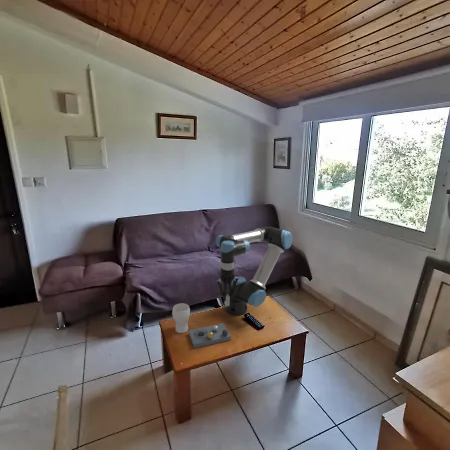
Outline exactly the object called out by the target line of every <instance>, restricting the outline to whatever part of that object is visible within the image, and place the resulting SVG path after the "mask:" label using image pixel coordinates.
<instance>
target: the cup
mask: <svg viewBox="0 0 450 450" xmlns="http://www.w3.org/2000/svg"><path fill="white" fill-rule="evenodd" d="M171 315H172V318H173V320H174V321H175V332H176V333H178V334H185V333H186V332H188V331H189V325H188V321H189V319H190V317H191V316H190V315H191V309H190V305H188V304H187V303H181V302H180V303H177V304H174V306H173V307H172V313H171Z"/></svg>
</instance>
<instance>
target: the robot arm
mask: <svg viewBox="0 0 450 450" xmlns="http://www.w3.org/2000/svg"><path fill="white" fill-rule="evenodd" d="M292 235H293V234H292V233H291V232H290V231H287V230H286V229H282V228H278V227H277V228H276V227H274V226H264V227H258V228H255V229H254V230H250V231H246V232H241V233H235V234H230V235H224V234H219V235H217V236H216V239H215V245H216V246H217V247H219V248H220V277H219V278H218V279H216V280H215V282H216V284H217V285H218V290H219V295H220V296H221V297H222V300H223V301H224V306H225V311H226V313H228V314H230V315H232V316H242V315H245V314H246V313H247V312H248V308H249V307H248V305H249V306H252V307H254V308H257V307H260V306H261V305H262V304H263V303H264V302H265V300H266V297H267V292H266V284H267V283H268V282H267V281H268V280H269V278H270V276H271V274H272V272H273V270H274V267H275V266H276V263H277V261H278V259H279V258H280V256H281V254H282V253H284V252H285V250H289V249H290V248H291V246H292V243H293V236H292ZM255 242H258V243H267V246H268V248H267V250H266V252H265V255H264V257H263V258H262V259H261V262H260V265H259V267H258V268H257V270H256V272H255V274H254V276H253V278H252V279H249V281H248V282H247V278H246V277H244V276H236V275H235V257H237V256H241V255H244V254H246V253H247V252H249V251H250V249H251V243H255ZM221 283H223V284H221Z"/></svg>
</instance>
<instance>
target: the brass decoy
mask: <svg viewBox="0 0 450 450" xmlns="http://www.w3.org/2000/svg"><path fill="white" fill-rule="evenodd" d="M213 336H214V334H213V332H211V331H209V332H208V333H207V338H208V339H212V338H213Z"/></svg>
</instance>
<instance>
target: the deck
mask: <svg viewBox="0 0 450 450" xmlns="http://www.w3.org/2000/svg"><path fill="white" fill-rule="evenodd" d="M215 325H217V326H218V331H214V330H213V326H215ZM224 329H226V330H227V331H228V334H227V335H226V336H224V335H223V334H222V331H223V330H224ZM209 331H211V332H213V334H214V336H213V338H212V339H208V338H207V333H208V332H209ZM188 335H189V336H188V337H189V339H190V341H191V344H192V347H193V349H197V348H198V349H199V348H202V347H205V346H210V345H213V344H219V343H222V342H223V343H224V342H227V341H232V335H231V334H230V331H229V329H228V328H227V327H226V325H225V323H224V322H222V323H219V324H218V323H217V324H212V325H208V326H204V327H199V328H194V329H190V330H189V329H188Z"/></svg>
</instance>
